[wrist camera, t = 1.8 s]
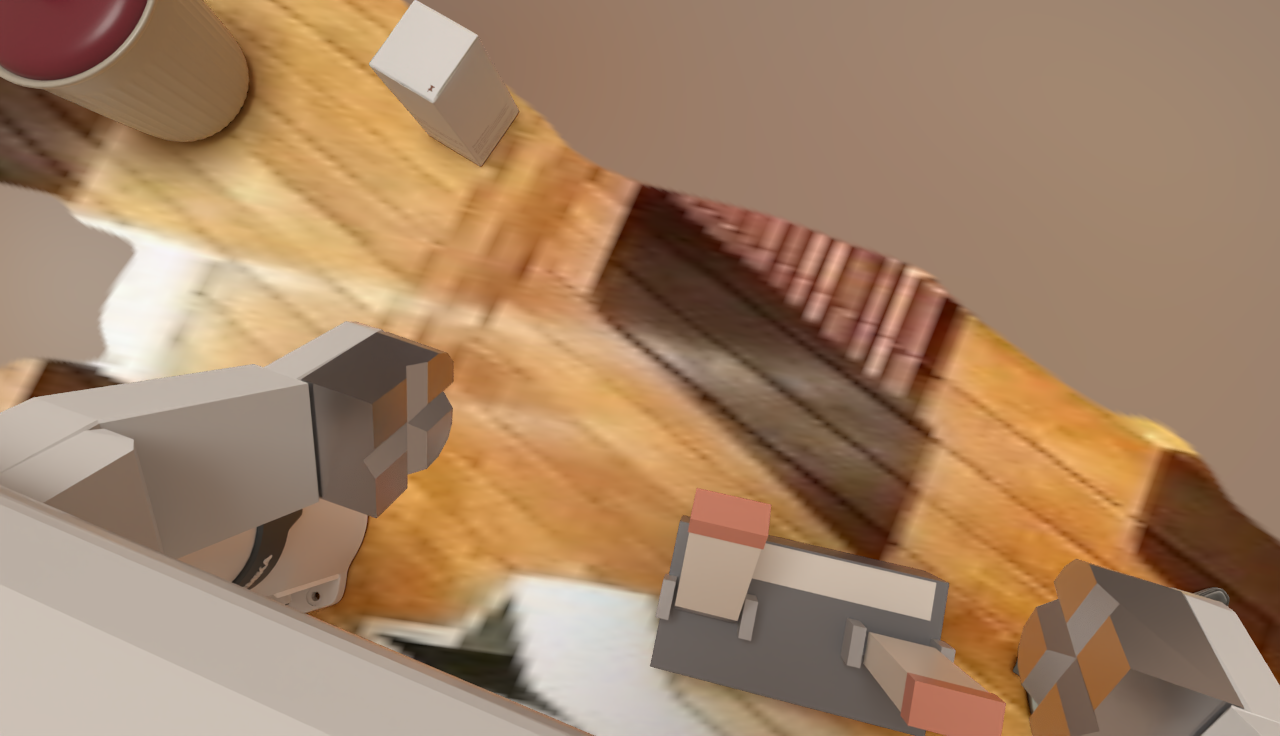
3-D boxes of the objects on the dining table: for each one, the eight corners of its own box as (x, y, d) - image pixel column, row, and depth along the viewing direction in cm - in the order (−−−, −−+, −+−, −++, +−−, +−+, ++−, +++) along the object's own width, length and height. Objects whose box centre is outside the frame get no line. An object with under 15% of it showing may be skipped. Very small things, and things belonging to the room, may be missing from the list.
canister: (140, 16, 76) (-74, -152, 55) (290, 16, 74) (127, -158, 53) (112, 168, 74) (-122, 53, 53) (266, 172, 72) (86, 54, 51)
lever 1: (734, 633, 54) (767, 536, 44) (671, 617, 54) (690, 518, 45) (738, 603, 56) (771, 504, 46) (677, 588, 56) (696, 487, 47)
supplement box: (521, 111, 70) (481, 35, 57) (481, 169, 69) (431, 105, 57) (466, 77, 71) (414, -5, 58) (425, 134, 70) (365, 64, 58)
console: (906, 710, 58) (939, 752, 50) (652, 645, 61) (643, 675, 53) (928, 571, 60) (964, 590, 51) (679, 514, 62) (675, 522, 54)
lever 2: (923, 674, 53) (999, 749, 39) (856, 657, 53) (908, 725, 40) (928, 640, 53) (1005, 703, 39) (862, 624, 54) (915, 680, 40)
